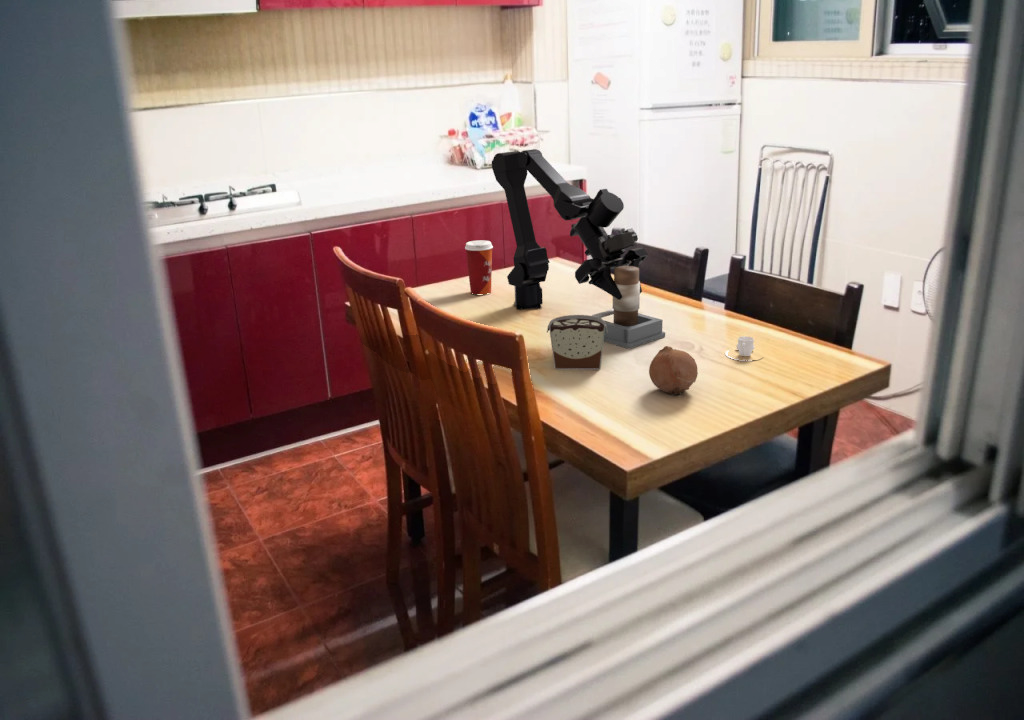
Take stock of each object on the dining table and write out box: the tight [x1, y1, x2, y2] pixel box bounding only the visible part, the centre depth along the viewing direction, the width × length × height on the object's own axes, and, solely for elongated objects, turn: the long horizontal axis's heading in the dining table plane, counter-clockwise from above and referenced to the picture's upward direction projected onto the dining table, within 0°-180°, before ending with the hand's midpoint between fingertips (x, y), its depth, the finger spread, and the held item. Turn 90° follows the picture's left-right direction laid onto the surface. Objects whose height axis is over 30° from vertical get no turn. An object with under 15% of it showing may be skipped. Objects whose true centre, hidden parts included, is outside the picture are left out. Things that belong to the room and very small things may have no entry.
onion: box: [648, 345, 699, 395], centre depth 157 cm, size 9×9×10 cm
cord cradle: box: [591, 308, 666, 350], centre depth 188 cm, size 12×12×5 cm
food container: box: [546, 314, 608, 371], centre depth 172 cm, size 12×6×10 cm, turn 84°
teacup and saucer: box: [724, 335, 755, 362], centre depth 175 cm, size 9×8×4 cm
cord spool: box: [612, 266, 641, 326], centre depth 187 cm, size 6×6×12 cm
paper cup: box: [464, 239, 494, 294], centre depth 227 cm, size 8×8×14 cm
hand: (630, 295), depth 185 cm, fingers closed on cord spool, 6 cm apart
